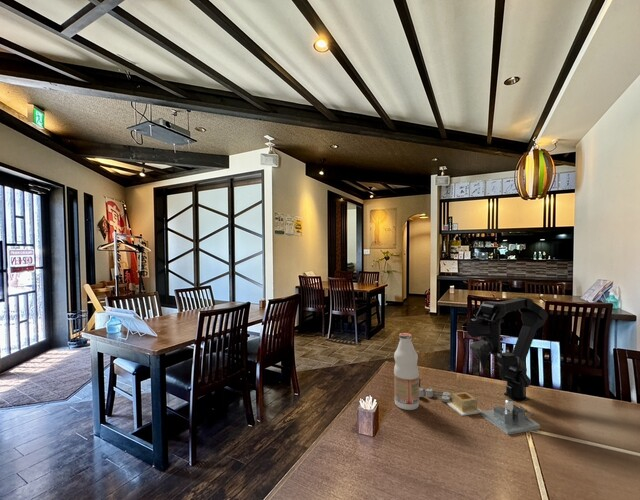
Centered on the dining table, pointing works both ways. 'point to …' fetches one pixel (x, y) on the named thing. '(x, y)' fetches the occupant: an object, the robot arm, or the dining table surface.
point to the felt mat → (464, 412)
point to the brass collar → (464, 401)
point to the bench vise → (510, 418)
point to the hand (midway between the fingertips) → (492, 373)
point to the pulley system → (430, 393)
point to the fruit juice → (406, 374)
